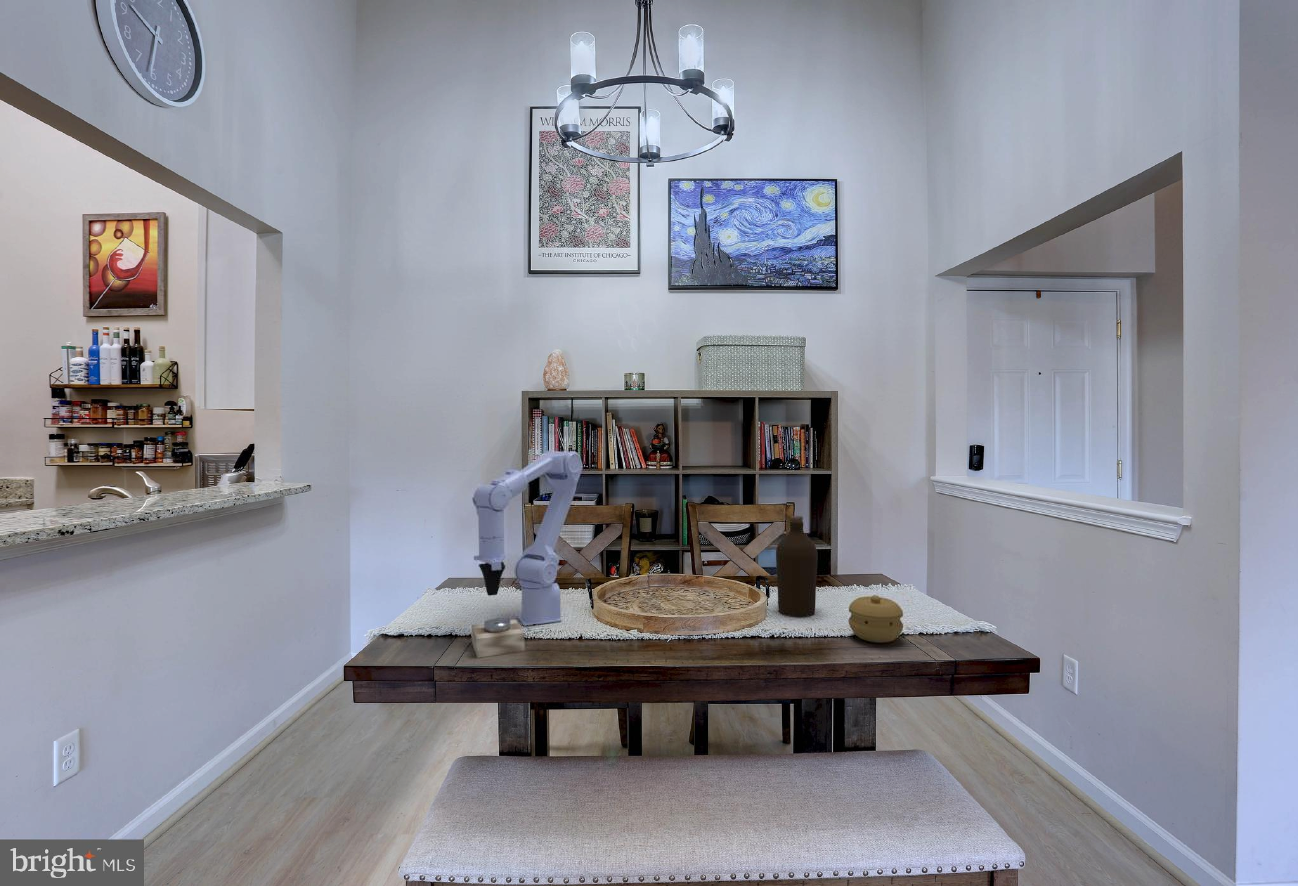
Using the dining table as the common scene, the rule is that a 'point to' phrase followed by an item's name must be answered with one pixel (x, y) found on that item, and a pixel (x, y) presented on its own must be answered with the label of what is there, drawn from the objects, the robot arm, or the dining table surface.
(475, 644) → the maple block
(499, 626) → the grey metal knob
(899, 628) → the lidded pot
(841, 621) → the dining table surface
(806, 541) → the olive oil
